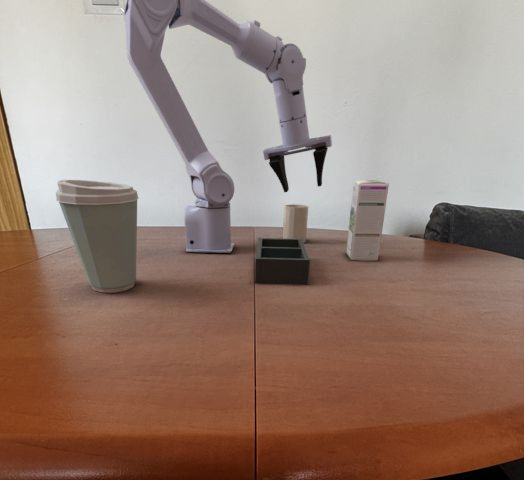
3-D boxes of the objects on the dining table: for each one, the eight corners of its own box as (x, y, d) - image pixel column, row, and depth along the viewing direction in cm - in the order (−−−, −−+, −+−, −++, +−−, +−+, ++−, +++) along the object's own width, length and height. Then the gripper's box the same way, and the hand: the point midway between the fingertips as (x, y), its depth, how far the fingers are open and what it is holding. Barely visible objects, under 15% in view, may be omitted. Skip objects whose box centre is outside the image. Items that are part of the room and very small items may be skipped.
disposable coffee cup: (145, 274, 64) (133, 178, 57) (153, 294, 55) (140, 183, 48) (77, 280, 61) (56, 178, 54) (74, 302, 52) (47, 184, 45)
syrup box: (378, 261, 76) (391, 182, 69) (349, 260, 76) (359, 181, 69) (371, 254, 81) (383, 180, 74) (344, 253, 81) (353, 179, 74)
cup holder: (255, 283, 61) (255, 258, 59) (258, 258, 76) (258, 237, 74) (307, 284, 61) (309, 259, 59) (300, 259, 76) (302, 238, 74)
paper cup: (283, 243, 89) (284, 207, 85) (282, 238, 94) (283, 204, 90) (306, 243, 89) (309, 207, 85) (304, 238, 94) (307, 204, 90)
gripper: (330, 108, 78) (337, 178, 85) (263, 124, 83) (275, 189, 90) (326, 112, 72) (334, 186, 80) (255, 128, 77) (269, 197, 85)
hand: (303, 188), depth 85 cm, fingers open, 7 cm apart
